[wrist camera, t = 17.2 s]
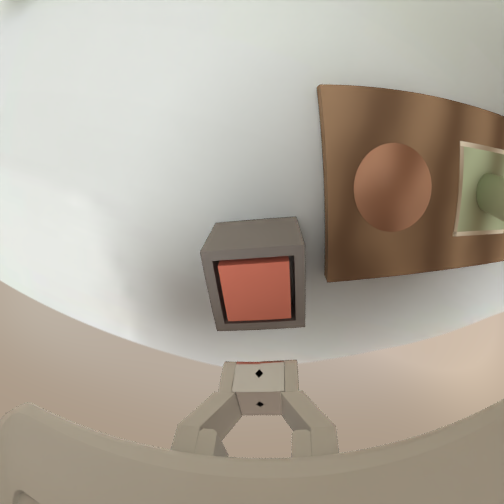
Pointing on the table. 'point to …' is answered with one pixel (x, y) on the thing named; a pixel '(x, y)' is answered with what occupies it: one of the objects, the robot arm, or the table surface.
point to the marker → (491, 195)
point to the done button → (256, 288)
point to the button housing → (255, 246)
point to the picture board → (406, 182)
